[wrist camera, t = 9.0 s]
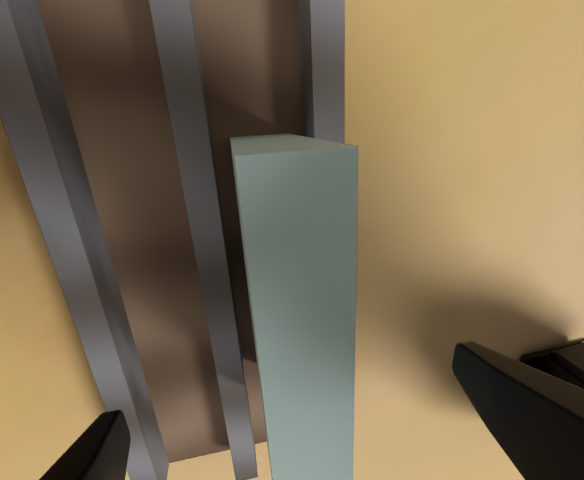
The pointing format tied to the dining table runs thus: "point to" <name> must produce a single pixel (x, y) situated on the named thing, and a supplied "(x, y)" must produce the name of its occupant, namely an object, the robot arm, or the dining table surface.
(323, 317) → the door panel
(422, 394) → the dining table surface
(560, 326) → the dining table surface
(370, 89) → the dining table surface
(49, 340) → the dining table surface
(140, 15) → the track base
